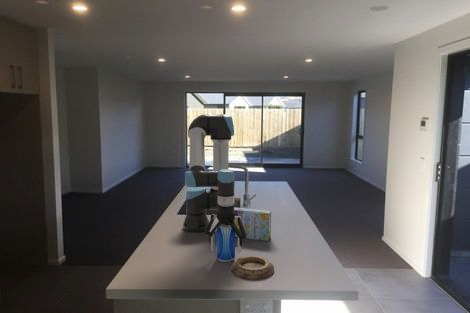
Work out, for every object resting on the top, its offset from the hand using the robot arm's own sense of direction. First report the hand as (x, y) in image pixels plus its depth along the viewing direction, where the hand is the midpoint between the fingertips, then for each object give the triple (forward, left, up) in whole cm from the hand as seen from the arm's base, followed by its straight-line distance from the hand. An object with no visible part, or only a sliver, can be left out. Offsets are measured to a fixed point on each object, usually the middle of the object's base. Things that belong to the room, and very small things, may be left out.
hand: (225, 250), depth 160 cm
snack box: (+5, +30, -4) cm, 31 cm away
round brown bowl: (+14, -7, -4) cm, 16 cm away
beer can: (0, 0, -4) cm, 4 cm away
